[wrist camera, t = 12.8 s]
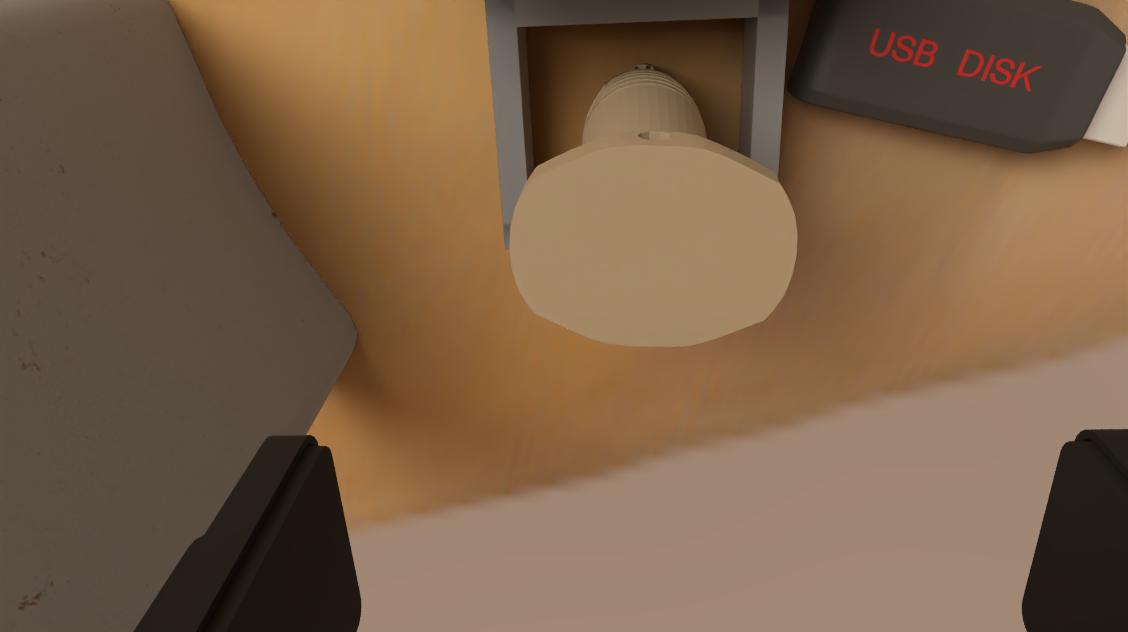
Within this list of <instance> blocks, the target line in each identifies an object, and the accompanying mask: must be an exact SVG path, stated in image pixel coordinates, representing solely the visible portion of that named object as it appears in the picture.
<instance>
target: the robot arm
mask: <svg viewBox="0 0 1128 632" xmlns="http://www.w3.org/2000/svg"><path fill="white" fill-rule="evenodd" d="M360 616H361V597H360V591H359V586H358V582H357V576H356V571H355V566H354V561H353V556H352V552H351V546H350V541H349V537H348V532H347V527H346V522H345V517H344V512H343V507H342V502H341V497H340V492H339V487H338V482H337V477H336V472H335V467H334V462H333V457H332V454H331V451H330V449H329V447H327V446H319V445H318V442H317V440H316V439H315V437H313V436H311V435H280V436H269V437H267V438H266V439H265V441H264V442H263V443H262V445H261V447H260V448H259V450H258V451H257V453H256V454H255V456H254V457H253V459H252V461H251V462H250V464H249V465H248V467H247V468H246V470H245V472H244V473H243V475H242V476H241V478H240V479H239V481H238V483H237V484H236V486H235V487H234V489H233V490H232V492H231V494H230V495H229V497H228V498H227V500H226V501H225V503H224V504H223V506H222V508H221V509H220V511H219V512H218V514H217V515H216V517H215V519H214V520H213V522H212V523H211V525H210V526H209V528H208V530H207V531H206V533H205V534H204V535H203V536H201V537H199V538H197V539H195V540H194V541H193V543H192V544H191V545H190V546H189V547H188V548H187V550H186V551H185V553H184V555H183V556H182V558H181V559H180V561H179V562H178V564H177V565H176V567H175V568H174V570H173V571H172V573H171V575H170V576H169V578H168V579H167V581H166V582H165V584H164V585H163V587H162V588H161V590H160V591H159V593H158V595H157V596H156V598H155V599H154V601H153V602H152V604H151V605H150V607H149V608H148V610H147V611H146V613H145V615H144V616H143V618H142V619H141V621H140V622H139V624H138V625H137V627H136V628H135V630H134V631H133V632H357V629H358V626H359V622H360ZM1022 616H1023V621H1024V625H1025V628H1026V630H1027V632H1128V429H1115V430H1114V429H1109V430H1108V429H1106V430H1105V429H1104V430H1103V429H1101V430H1084V431H1081V432H1080V433H1079V434H1078V435H1077V437H1076V439H1075V441H1069V442H1067V443H1065V444H1064V446H1063V447H1062V449H1061V452H1060V456H1059V460H1058V463H1057V467H1056V471H1055V475H1054V479H1053V483H1052V487H1051V491H1050V495H1049V499H1048V503H1047V506H1046V511H1045V514H1044V518H1043V522H1042V526H1041V530H1040V534H1039V538H1038V542H1037V546H1036V550H1035V554H1034V558H1033V562H1032V565H1031V569H1030V573H1029V577H1028V581H1027V585H1026V589H1025V593H1024V597H1023V601H1022Z"/></svg>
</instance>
